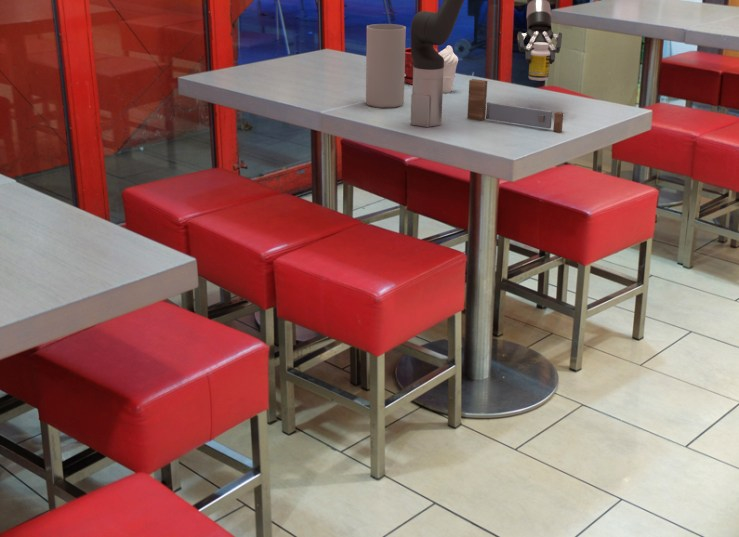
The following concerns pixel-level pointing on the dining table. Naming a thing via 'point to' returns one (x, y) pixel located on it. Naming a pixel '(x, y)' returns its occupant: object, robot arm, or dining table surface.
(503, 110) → the gate
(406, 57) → the plant pot
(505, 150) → the dining table surface
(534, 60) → the pill bottle
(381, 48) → the cylinder vase
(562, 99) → the dining table surface
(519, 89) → the dining table surface
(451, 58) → the soft serve ice cream cone
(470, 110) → the wooden blocks
